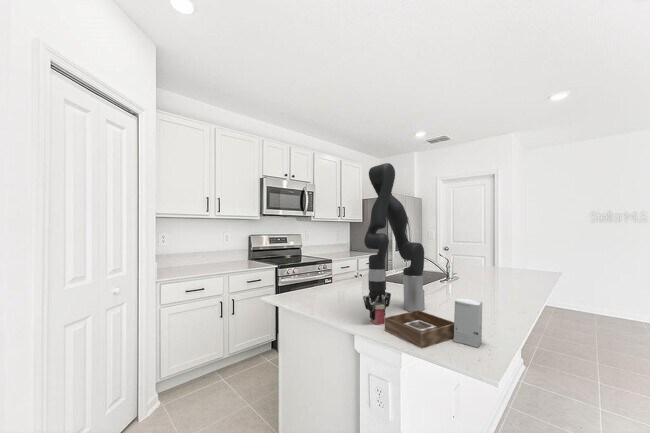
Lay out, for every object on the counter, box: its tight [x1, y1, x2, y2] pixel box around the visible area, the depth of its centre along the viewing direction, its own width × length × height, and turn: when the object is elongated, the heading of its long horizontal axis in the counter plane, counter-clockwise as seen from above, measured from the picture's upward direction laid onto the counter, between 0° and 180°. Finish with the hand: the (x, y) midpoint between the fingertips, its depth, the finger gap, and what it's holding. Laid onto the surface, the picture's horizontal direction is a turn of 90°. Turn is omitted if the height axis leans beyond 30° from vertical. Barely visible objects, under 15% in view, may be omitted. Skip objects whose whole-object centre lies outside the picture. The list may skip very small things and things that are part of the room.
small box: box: [370, 303, 386, 325], centre depth 122 cm, size 5×4×8 cm
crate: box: [384, 310, 454, 349], centre depth 110 cm, size 19×19×5 cm
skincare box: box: [453, 297, 483, 348], centre depth 101 cm, size 8×6×15 cm
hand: (377, 318), depth 122 cm, fingers closed on small box, 5 cm apart
